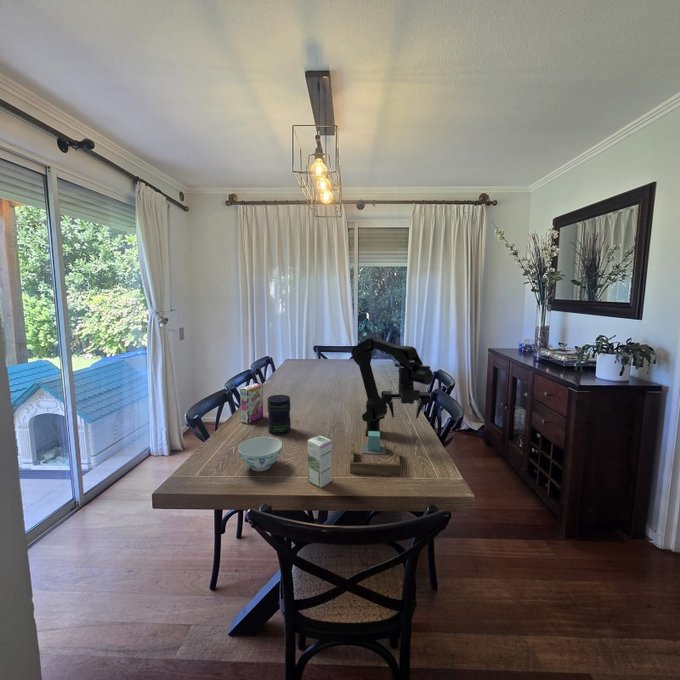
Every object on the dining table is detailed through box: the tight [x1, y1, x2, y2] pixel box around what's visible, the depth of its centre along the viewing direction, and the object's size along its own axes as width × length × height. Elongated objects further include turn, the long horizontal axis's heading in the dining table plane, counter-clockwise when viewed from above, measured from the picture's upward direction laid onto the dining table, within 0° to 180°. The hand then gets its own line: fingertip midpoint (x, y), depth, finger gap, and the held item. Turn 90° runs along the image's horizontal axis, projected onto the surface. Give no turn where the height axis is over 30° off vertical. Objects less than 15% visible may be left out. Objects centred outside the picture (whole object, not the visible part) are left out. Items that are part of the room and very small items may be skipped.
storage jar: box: [267, 394, 292, 436], centre depth 154 cm, size 10×10×15 cm
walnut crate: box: [349, 443, 401, 476], centre depth 127 cm, size 15×17×4 cm
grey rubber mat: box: [361, 442, 387, 456], centre depth 138 cm, size 9×9×1 cm
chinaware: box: [237, 436, 283, 472], centre depth 124 cm, size 15×15×8 cm
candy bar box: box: [239, 382, 264, 425], centre depth 167 cm, size 11×5×16 cm, turn 154°
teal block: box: [367, 431, 381, 451], centre depth 138 cm, size 4×4×6 cm
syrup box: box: [307, 434, 333, 489], centre depth 114 cm, size 6×6×14 cm
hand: (404, 417), depth 139 cm, fingers open, 9 cm apart
